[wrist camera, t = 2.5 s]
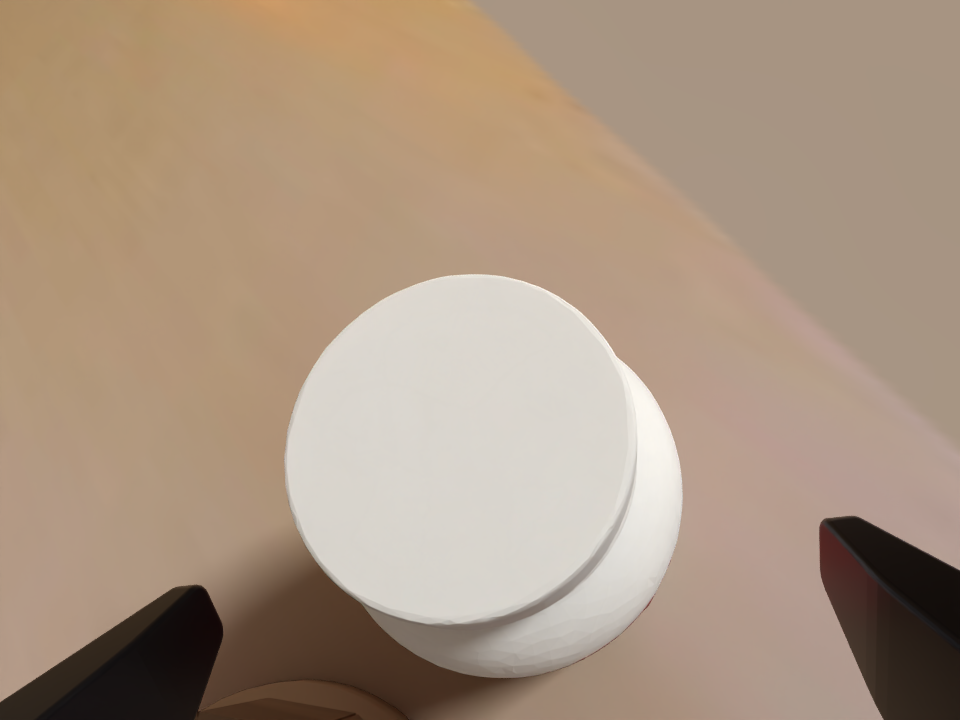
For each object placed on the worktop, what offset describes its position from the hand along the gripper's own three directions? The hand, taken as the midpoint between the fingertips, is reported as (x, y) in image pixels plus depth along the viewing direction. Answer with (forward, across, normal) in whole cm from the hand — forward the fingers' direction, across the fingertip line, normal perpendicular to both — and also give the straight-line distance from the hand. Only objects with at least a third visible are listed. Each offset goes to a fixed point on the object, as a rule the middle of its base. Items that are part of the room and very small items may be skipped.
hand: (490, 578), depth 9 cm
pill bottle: (+8, 0, +6) cm, 10 cm away
